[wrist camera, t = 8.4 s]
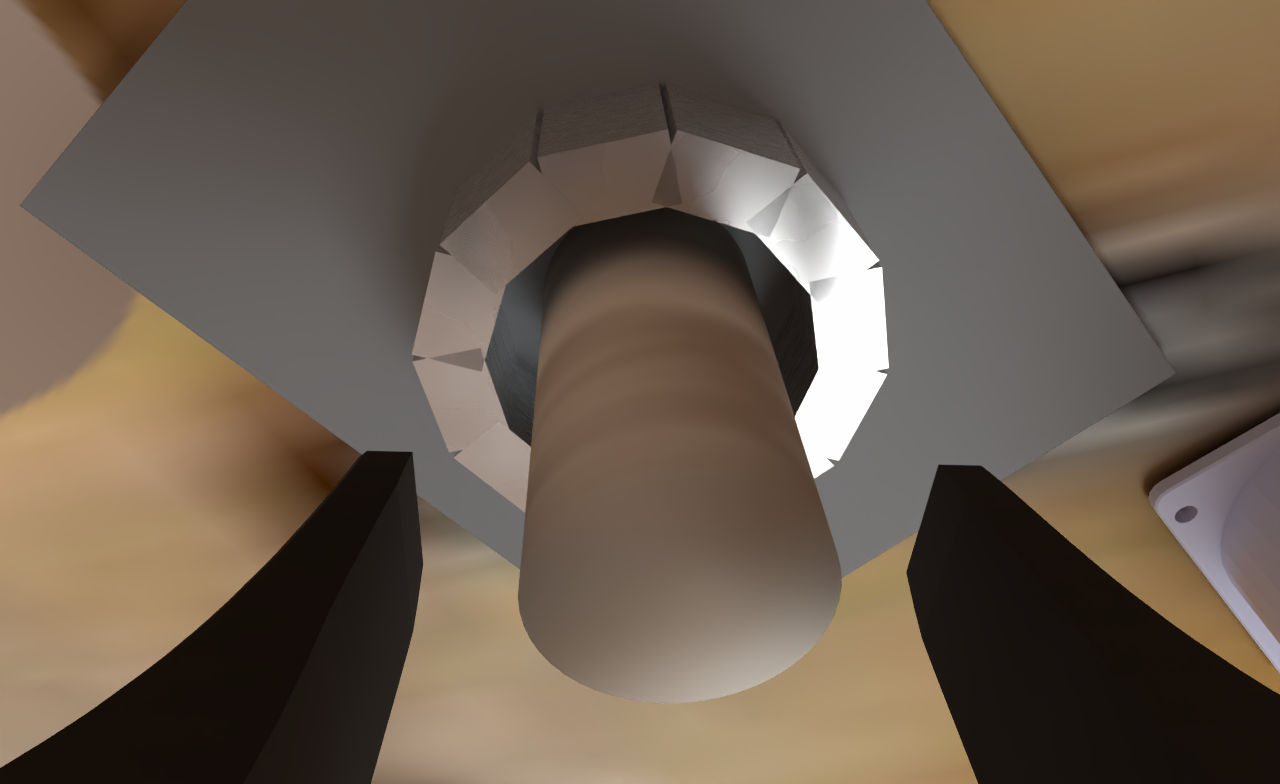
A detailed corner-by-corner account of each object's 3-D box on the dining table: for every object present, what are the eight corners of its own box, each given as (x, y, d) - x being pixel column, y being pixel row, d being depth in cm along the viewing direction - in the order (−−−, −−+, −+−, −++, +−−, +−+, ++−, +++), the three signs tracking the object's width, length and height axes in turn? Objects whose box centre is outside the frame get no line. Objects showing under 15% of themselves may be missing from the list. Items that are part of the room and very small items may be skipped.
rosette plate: (1162, 358, 20) (1176, 373, 20) (672, 662, 25) (673, 680, 25) (592, -486, 12) (592, -497, 12) (36, 193, 17) (19, 205, 17)
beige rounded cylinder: (790, 300, 18) (904, 600, 12) (639, 414, 20) (664, 741, 13) (657, 155, 17) (702, 410, 10) (501, 291, 18) (449, 596, 11)
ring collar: (930, 305, 19) (972, 373, 17) (631, 516, 21) (635, 597, 19) (669, -15, 15) (681, 21, 13) (351, 287, 18) (319, 355, 16)
